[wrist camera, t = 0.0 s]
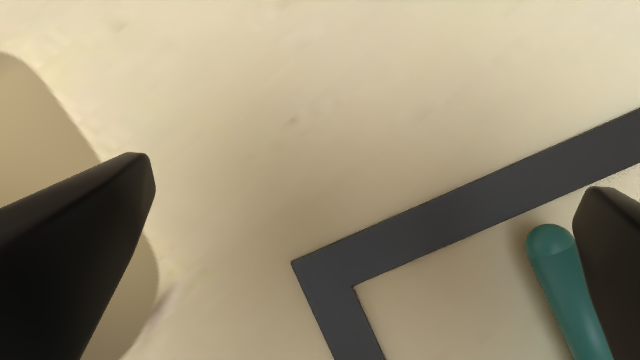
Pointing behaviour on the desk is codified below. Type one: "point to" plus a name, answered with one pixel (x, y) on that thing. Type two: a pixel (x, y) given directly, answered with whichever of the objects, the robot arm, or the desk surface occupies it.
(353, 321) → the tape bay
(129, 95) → the desk surface
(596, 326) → the dustpan
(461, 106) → the desk surface
